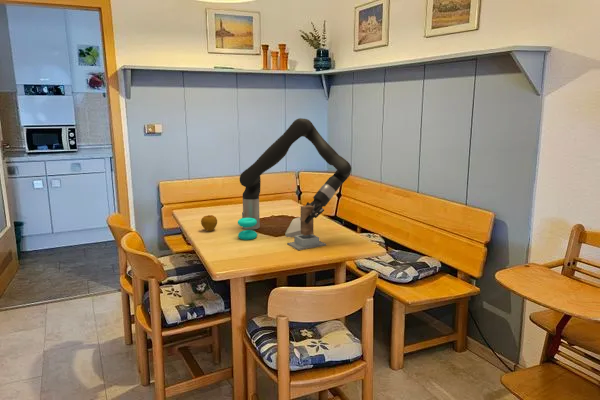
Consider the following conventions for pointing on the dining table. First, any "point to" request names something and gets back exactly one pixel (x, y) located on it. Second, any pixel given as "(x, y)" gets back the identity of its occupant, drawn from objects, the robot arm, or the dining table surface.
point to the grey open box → (306, 242)
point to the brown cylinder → (305, 212)
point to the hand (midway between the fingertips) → (303, 221)
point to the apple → (209, 222)
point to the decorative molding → (294, 228)
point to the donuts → (247, 233)
